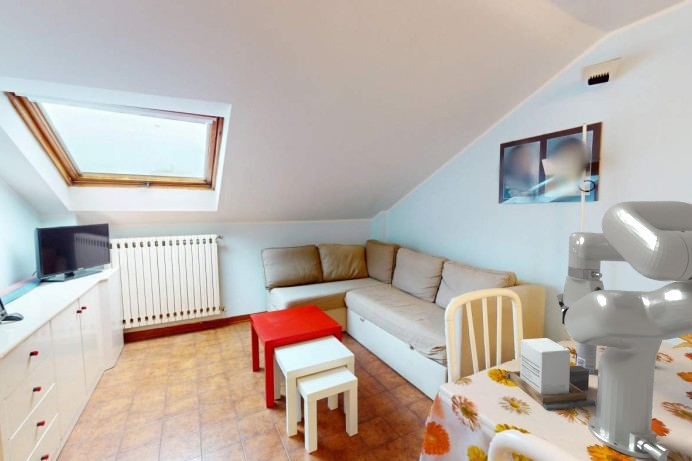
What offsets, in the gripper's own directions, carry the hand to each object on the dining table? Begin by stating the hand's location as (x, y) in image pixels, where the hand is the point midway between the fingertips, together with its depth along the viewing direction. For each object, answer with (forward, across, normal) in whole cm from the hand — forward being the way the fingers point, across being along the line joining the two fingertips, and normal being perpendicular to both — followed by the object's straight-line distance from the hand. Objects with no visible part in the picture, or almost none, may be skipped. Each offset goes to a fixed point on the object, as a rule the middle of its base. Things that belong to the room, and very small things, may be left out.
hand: (581, 329), depth 91 cm
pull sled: (+18, 0, +8) cm, 20 cm away
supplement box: (+18, -1, +13) cm, 22 cm away
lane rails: (+18, 0, +10) cm, 21 cm away
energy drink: (+18, +10, -12) cm, 24 cm away
